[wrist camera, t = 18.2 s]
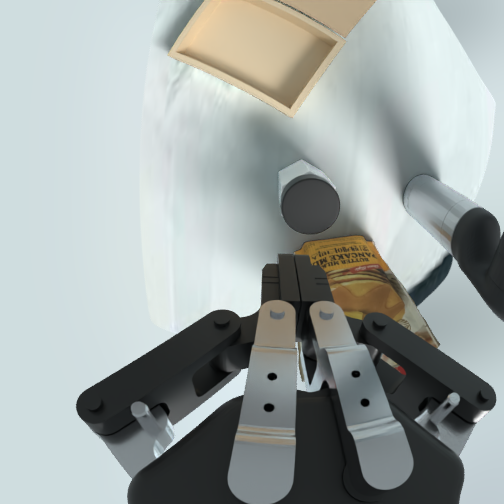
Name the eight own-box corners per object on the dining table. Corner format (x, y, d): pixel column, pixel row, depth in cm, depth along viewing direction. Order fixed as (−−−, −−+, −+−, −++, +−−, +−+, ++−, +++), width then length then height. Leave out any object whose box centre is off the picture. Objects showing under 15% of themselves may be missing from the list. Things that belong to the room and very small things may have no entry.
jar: (266, 191, 47) (267, 216, 37) (290, 151, 43) (298, 165, 33) (309, 214, 49) (321, 245, 38) (334, 177, 45) (353, 199, 35)
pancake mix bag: (378, 259, 53) (435, 364, 28) (289, 271, 55) (300, 392, 31) (379, 230, 49) (450, 330, 25) (285, 242, 52) (298, 362, 27)
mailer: (289, 117, 40) (292, 118, 36) (175, 59, 36) (167, 55, 32) (339, 47, 33) (346, 41, 29) (225, -10, 29) (221, -20, 25)
